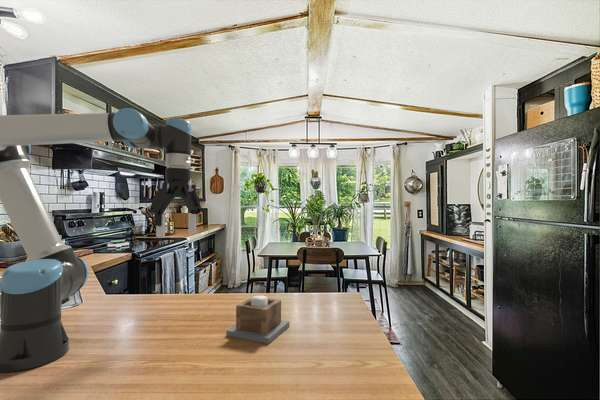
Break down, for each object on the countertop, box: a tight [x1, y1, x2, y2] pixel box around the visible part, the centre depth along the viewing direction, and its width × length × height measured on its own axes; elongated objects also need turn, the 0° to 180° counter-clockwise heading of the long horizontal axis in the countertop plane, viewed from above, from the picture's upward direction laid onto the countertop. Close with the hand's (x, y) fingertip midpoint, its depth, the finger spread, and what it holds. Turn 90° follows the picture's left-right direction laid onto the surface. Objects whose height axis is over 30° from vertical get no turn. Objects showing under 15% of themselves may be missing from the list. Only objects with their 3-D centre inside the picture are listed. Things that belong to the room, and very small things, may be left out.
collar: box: [235, 297, 282, 335], centre depth 97 cm, size 10×10×7 cm
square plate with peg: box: [225, 295, 290, 345], centre depth 97 cm, size 14×14×10 cm
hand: (177, 235), depth 100 cm, fingers open, 13 cm apart
